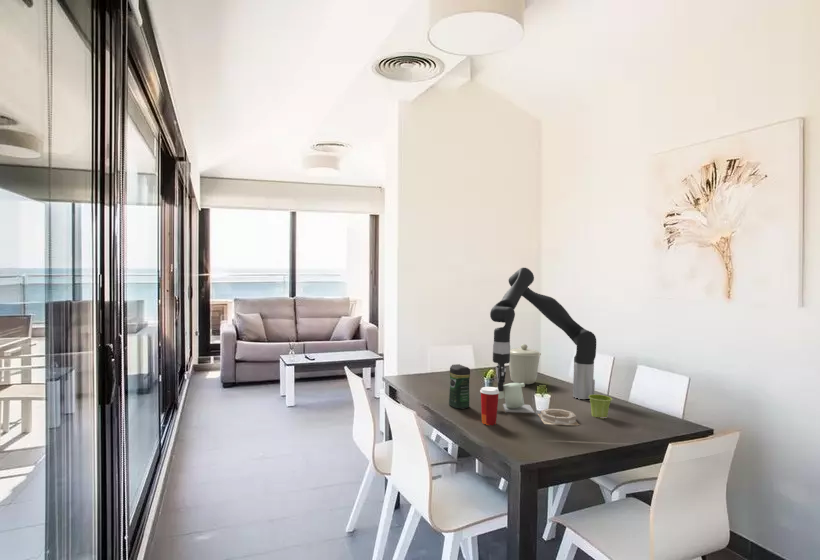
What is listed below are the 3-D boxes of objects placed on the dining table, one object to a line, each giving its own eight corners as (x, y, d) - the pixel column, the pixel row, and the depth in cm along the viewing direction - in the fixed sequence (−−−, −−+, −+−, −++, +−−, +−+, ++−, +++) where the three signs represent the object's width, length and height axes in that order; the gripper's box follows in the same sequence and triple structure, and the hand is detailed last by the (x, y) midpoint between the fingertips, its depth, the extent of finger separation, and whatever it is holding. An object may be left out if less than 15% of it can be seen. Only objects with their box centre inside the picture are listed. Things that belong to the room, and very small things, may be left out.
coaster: (529, 406, 226) (529, 404, 226) (534, 414, 214) (534, 412, 214) (502, 405, 227) (502, 403, 227) (506, 413, 215) (506, 411, 215)
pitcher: (525, 400, 224) (522, 381, 224) (528, 405, 216) (525, 385, 216) (491, 406, 225) (488, 386, 225) (493, 411, 217) (490, 390, 217)
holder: (570, 416, 212) (571, 409, 212) (579, 426, 198) (580, 419, 198) (537, 415, 213) (537, 407, 213) (544, 425, 199) (544, 417, 199)
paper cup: (501, 422, 202) (502, 388, 201) (494, 427, 195) (495, 392, 195) (483, 419, 206) (484, 385, 205) (475, 424, 199) (476, 389, 199)
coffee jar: (472, 408, 221) (473, 366, 221) (456, 410, 218) (457, 367, 218) (461, 402, 230) (462, 362, 230) (446, 404, 227) (447, 363, 226)
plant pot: (613, 417, 213) (614, 396, 213) (608, 422, 205) (609, 401, 205) (591, 413, 218) (591, 393, 218) (585, 418, 210) (585, 397, 210)
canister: (511, 377, 286) (512, 340, 285) (543, 381, 278) (544, 343, 277) (502, 383, 270) (503, 344, 269) (536, 388, 262) (537, 348, 261)
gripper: (491, 348, 227) (490, 386, 228) (494, 354, 214) (493, 394, 214) (507, 349, 227) (506, 387, 227) (512, 354, 213) (511, 394, 214)
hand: (500, 390), depth 221 cm, fingers closed on pitcher, 1 cm apart
